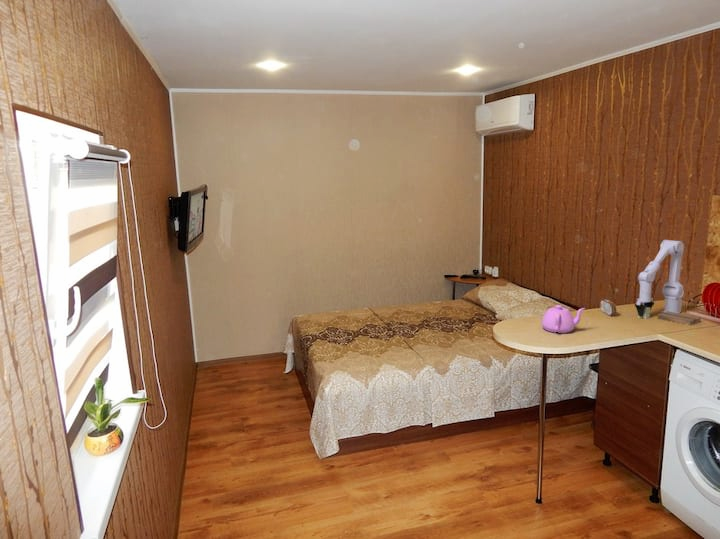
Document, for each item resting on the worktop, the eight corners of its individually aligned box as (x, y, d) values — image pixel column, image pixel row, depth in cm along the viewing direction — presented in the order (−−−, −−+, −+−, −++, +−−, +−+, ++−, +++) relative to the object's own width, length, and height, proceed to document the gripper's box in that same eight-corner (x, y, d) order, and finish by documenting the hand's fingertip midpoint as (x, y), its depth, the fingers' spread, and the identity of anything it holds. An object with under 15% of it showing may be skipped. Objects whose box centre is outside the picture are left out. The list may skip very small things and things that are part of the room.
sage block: (641, 316, 280) (642, 306, 279) (649, 317, 276) (650, 307, 275) (637, 317, 277) (638, 307, 276) (645, 319, 274) (646, 308, 273)
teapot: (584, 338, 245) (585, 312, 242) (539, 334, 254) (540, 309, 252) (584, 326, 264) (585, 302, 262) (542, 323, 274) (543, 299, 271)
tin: (616, 317, 279) (617, 303, 278) (611, 317, 279) (611, 303, 278) (604, 310, 294) (604, 297, 292) (599, 310, 294) (599, 297, 292)
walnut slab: (667, 316, 279) (668, 311, 278) (700, 322, 264) (700, 317, 264) (657, 319, 273) (657, 314, 273) (689, 326, 259) (690, 321, 258)
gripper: (644, 289, 281) (643, 311, 284) (631, 293, 273) (630, 315, 276) (657, 291, 275) (655, 313, 278) (644, 295, 268) (642, 318, 270)
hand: (643, 315), depth 276 cm, fingers open, 7 cm apart
